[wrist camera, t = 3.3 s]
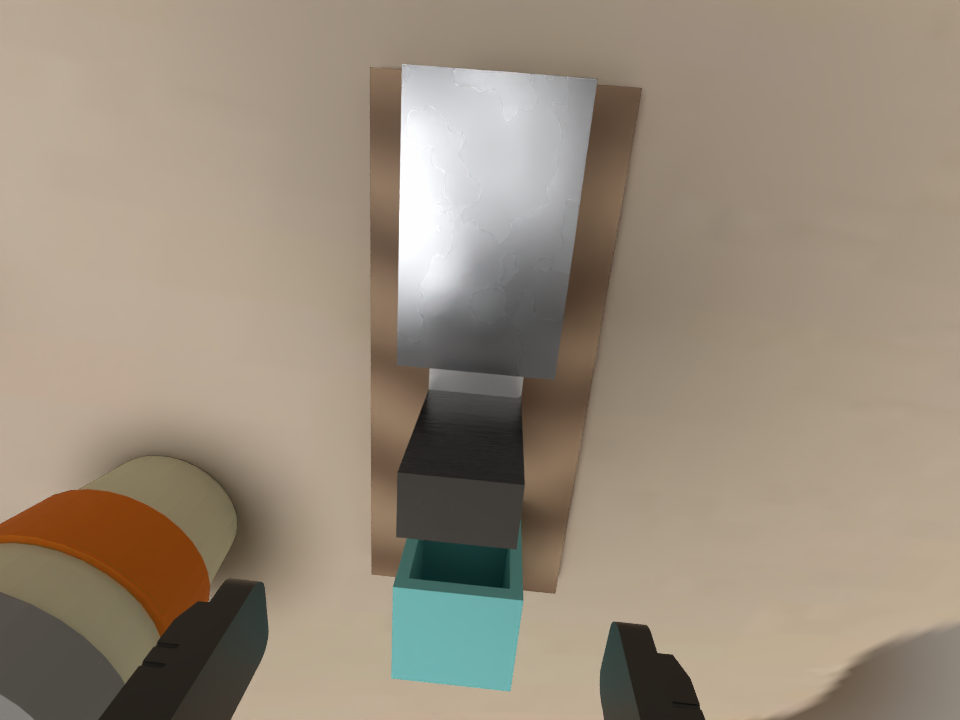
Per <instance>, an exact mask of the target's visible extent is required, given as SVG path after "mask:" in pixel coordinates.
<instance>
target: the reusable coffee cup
mask: <svg viewBox="0 0 960 720" xmlns="http://www.w3.org/2000/svg"><path fill="white" fill-rule="evenodd" d="M236 532H237V517H236V512H235V509H234V507H233V504H232V502H231V500H230V498H229V497H228V495H227V493H226V492H225V491H224V490H223V488H222V487H221V486H220V485H219V484H218V483H217V482H216V481H215V480H214V479H213V478H212V477H210V476H209V475H208V474H207V473H205V472H204V471H202V470H201V469H199V468H197V467H196V466H194V465H191V464H189V463H187V462H185V461H182V460H178V459H175V458H171V457H165V456H143V457H140V458H136V459H132V460H130V461H129V462H127V463H125V464H123V465H121V466H119V467H118V468H116V469H114V470H112V471H111V472H109V473H107V474H105V475H103V476H102V477H100V478H98V479H96V480H95V481H93V482H91V483H89V484H87V485H86V486H84V487H82V488H80V489H78V490H70V491H66V492H62V493H59V494H55V495H53V496H51V497H49V498H47V499H45V500H44V501H42V502H40V503H38V504H36V505H34V506H32V507H31V508H29V509H27V510H25V511H23V512H21V513H20V514H18V515H16V516H14V517H12V518H10V519H9V520H7V521H5V522H3V523H1V524H0V720H98V719H99V718H100V716H101V715H102V714H103V713H104V711H105V710H106V709H107V707H108V706H109V705H110V703H111V702H112V701H113V699H114V698H115V697H116V695H117V694H118V693H119V691H120V690H121V689H122V687H123V686H124V685H125V684H126V682H127V681H128V680H129V678H130V677H131V676H132V674H133V673H134V672H135V670H136V669H137V668H138V666H141V665H142V663H143V660H144V658H145V657H146V656H147V655H148V653H149V652H150V651H151V649H152V648H153V647H155V646H156V645H157V641H158V640H159V639H160V637H161V636H162V635H163V633H164V632H165V631H166V630H167V628H168V627H169V626H170V624H171V623H172V622H173V620H174V619H175V618H177V617H178V616H179V615H181V614H182V613H183V612H184V611H186V610H187V609H188V608H190V607H191V606H192V605H193V604H195V603H196V602H197V601H201V602H208V600H209V592H210V584H211V583H212V581H213V579H214V577H215V575H216V573H217V571H218V570H219V568H220V566H221V564H222V562H223V560H224V559H225V557H226V555H227V553H228V551H229V549H230V548H231V546H232V544H233V541H234V539H235V537H236Z"/></svg>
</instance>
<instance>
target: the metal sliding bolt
mask: <svg viewBox="0 0 960 720" xmlns="http://www.w3.org/2000/svg"><path fill="white" fill-rule="evenodd" d="M522 386H523V377H518V376H507V375H496V374H486V373H475V372H464V371H453V370H443V369H432V368H430V369H429V390H428V393H427V395H426V398H425V400H424V403H423V406H422V408H421V411H420V414H419V416H418V419H417V422H416V424H415V427H414V430H413V432H412V435H411V438H410V440H409V443H408V446H407V448H406V451H405V454H404V456H403V459H402V462H401V464H400V467H399V470H398V472H397V518H396V537H399V538H408V539H418V540H428V541H438V542H447V543H457V544H467V545H477V546H486V547H496V548H506V549H516V550H517V543H518V535H519V527H520V520H521V512H522V504H523V496H524V489H525V475H524V452H523V430H522V408H521V394H522Z"/></svg>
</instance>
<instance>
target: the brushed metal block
mask: <svg viewBox="0 0 960 720" xmlns="http://www.w3.org/2000/svg"><path fill="white" fill-rule="evenodd" d="M596 86H597V79H593V78H580V77H567V76H554V75H541V74H527V73H514V72H501V71H488V70H475V69H462V68H449V67H436V66H423V65H410V64H402V94H401V152H400V210H399V269H398V327H397V365H400V366H410V367H421V368H432V369H443V370H453V371H464V372H475V373H486V374H496V375H507V376H518V377H529V378H539V379H550V380H555V374H556V367H557V360H558V353H559V346H560V339H561V332H562V325H563V318H564V311H565V304H566V297H567V290H568V283H569V276H570V269H571V262H572V255H573V248H574V241H575V234H576V227H577V220H578V213H579V205H580V198H581V191H582V184H583V177H584V170H585V163H586V156H587V149H588V142H589V135H590V128H591V121H592V114H593V107H594V100H595V93H596Z"/></svg>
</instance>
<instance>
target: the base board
mask: <svg viewBox="0 0 960 720" xmlns="http://www.w3.org/2000/svg"><path fill="white" fill-rule="evenodd" d="M641 91H642V88H635V87H622V86H609V85H597V86H596V93H595V100H594V107H593V114H592V121H591V128H590V135H589V142H588V149H587V156H586V163H585V170H584V177H583V184H582V191H581V198H580V205H579V213H578V220H577V227H576V234H575V241H574V248H573V255H572V262H571V269H570V276H569V283H568V290H567V297H566V304H565V311H564V318H563V325H562V332H561V339H560V346H559V353H558V360H557V367H556V374H555V380H550V379H539V378H529V377H523V386H522V394H521V408H522V430H523V452H524V475H525V489H524V496H523V504H522V512H521V539H522V573H523V590H525V591H535V592H544V593H554V594H555V592H556V586H557V580H558V575H559V569H560V563H561V557H562V551H563V545H564V540H565V534H566V528H567V522H568V516H569V510H570V505H571V499H572V493H573V487H574V481H575V476H576V470H577V464H578V458H579V452H580V446H581V441H582V435H583V429H584V423H585V417H586V411H587V406H588V400H589V394H590V388H591V382H592V376H593V371H594V365H595V359H596V353H597V347H598V342H599V336H600V330H601V324H602V318H603V312H604V307H605V301H606V295H607V289H608V283H609V277H610V272H611V266H612V260H613V254H614V248H615V242H616V237H617V231H618V225H619V219H620V213H621V208H622V202H623V196H624V190H625V184H626V178H627V173H628V167H629V161H630V155H631V149H632V143H633V138H634V132H635V126H636V120H637V114H638V108H639V103H640V97H641ZM401 94H402V70H400V69H387V68H374V67H370V220H371V545H372V575H382V576H391V577H396V575H397V571H398V568H399V564H400V561H401V557H402V554H403V550H404V547H405V543H406V539H407V538H399V537H396V518H397V472H398V470H399V467H400V464H401V462H402V459H403V456H404V454H405V451H406V448H407V446H408V443H409V440H410V438H411V435H412V432H413V430H414V427H415V424H416V422H417V419H418V416H419V414H420V411H421V408H422V406H423V403H424V400H425V398H426V395H427V393H428V390H429V369H430V368H421V367H410V366H400V365H397V327H398V269H399V210H400V152H401Z"/></svg>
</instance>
